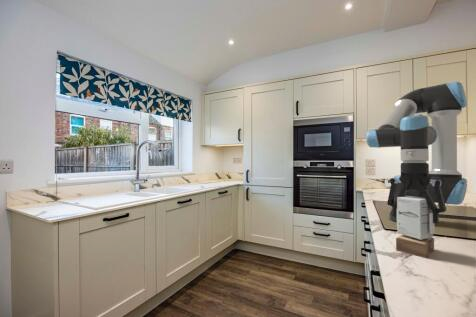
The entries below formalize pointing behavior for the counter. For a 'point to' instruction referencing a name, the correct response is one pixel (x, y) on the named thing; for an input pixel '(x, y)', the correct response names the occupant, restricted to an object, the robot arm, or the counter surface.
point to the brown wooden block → (415, 245)
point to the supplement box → (413, 217)
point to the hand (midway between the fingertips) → (414, 229)
